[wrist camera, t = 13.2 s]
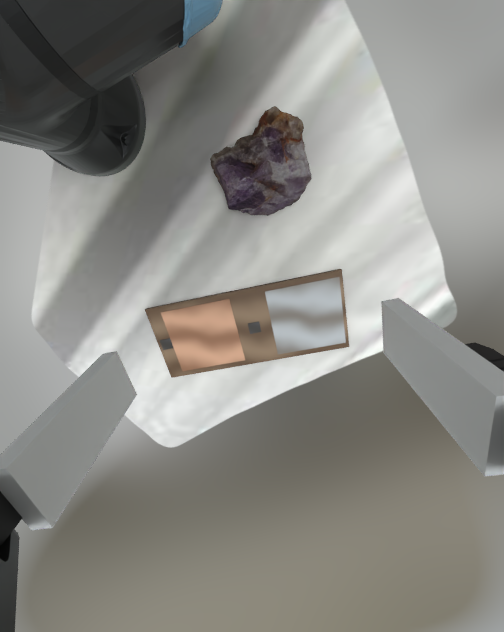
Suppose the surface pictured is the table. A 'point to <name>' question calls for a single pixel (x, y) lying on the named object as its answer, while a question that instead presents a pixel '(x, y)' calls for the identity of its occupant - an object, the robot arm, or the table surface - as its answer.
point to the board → (252, 324)
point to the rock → (265, 166)
